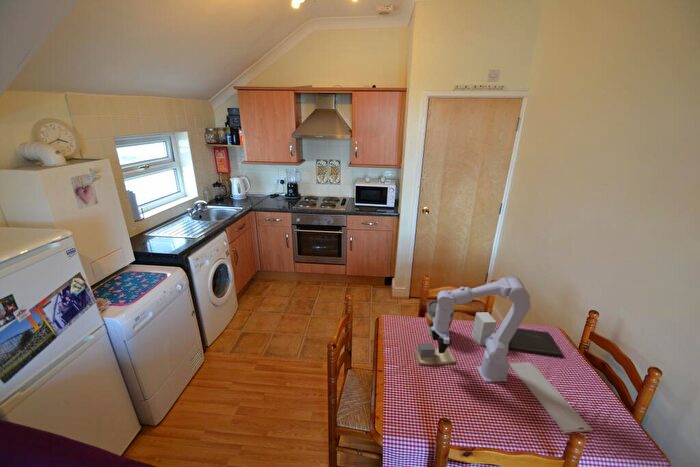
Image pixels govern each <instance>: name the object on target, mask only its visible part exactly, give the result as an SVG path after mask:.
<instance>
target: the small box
mask: <svg viewBox="0 0 700 467" xmlns="http://www.w3.org/2000/svg"><path fill="white" fill-rule="evenodd" d="M497 323H498V322H497V320H495V318H494V317H493V316H492V315H491V314H490V313H489V311H488V312H486V311H485V312H482V311H481V312H479V311H478V312H476V313H475V318H474V321H473V327H472V331H471V332H472V333H471V336H472V337H473V339H474V340H475V341H476V343H477V344H478V346H485V340H486V339H487V338H489V337H490V336H491V335H492V334H493V333H494V334H495V333H496V332H495V331H496V329H497Z"/></svg>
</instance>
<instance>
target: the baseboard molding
mask: <svg viewBox="0 0 700 467" xmlns="http://www.w3.org/2000/svg"><path fill="white" fill-rule="evenodd" d="M509 367H510V368H511V369H512V370H513V372H514V373H515V374H516V375H517V377H518V378H519V379H520V381H522V382H523V384H524V385H525V386H526V388H527V389H528V390H529V391H530V393H532V395H533V396H534V397H535V399H536V400H537V401H538V402H539V404H540V406H542V407H543V408H544V410H545V411H546V412H547V414H548V415H549V416H550V417H551V419H553V421H554V422H555V423H556V425H557V426H558V427H559V429H560V430H561V431H562V432H563V433H564V435H565V434H566V435H567V434H571V433H570V432H579V433H584V432H585V433H587V432H596V431H597V429H596V428H595V427H590V425H589V424H588V423H587V422H586V421H585V420H584V419H583V417H582V416H580V414H579V413H578V412H577V411H576V410H575V409H574V408H573V406H571V405H570V403H569V402H568V401H567V400H566V399H565V398H564V397H563V395H561V393H560V392H559V391H558V390H557V389H556V388H555V387H554V386H553V384H552V383H550V381H549V380H548V379H547V378H546V377H545V376H544V374H543V373H542V372H541V371H539V369H538V368H537V367H536V366H535V364H534V363H532V362H529V361H527V362H512V363H511V362H509Z"/></svg>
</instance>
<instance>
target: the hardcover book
mask: <svg viewBox="0 0 700 467" xmlns="http://www.w3.org/2000/svg"><path fill="white" fill-rule="evenodd" d="M499 327H500V325H498V328H499ZM508 351H512V352H518V353H525V354H533V355H538V354H539V355H540V356H546V357H552V356H553V358H559V357H560V359H563V357H564V354H563V352H562V351H561V349H560V347H558V345H557V343H556V342H555V340H554V338H553V337H552V335H551V334H550V332H548V331H542V330H541V331H540V330H534V329H528V328H527V329H526V328H519V327H518V329H517V330H516V332H515V334H514V335H513V337H512V338H511V340H510V342H509V344H508ZM539 355H538V356H539Z"/></svg>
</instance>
